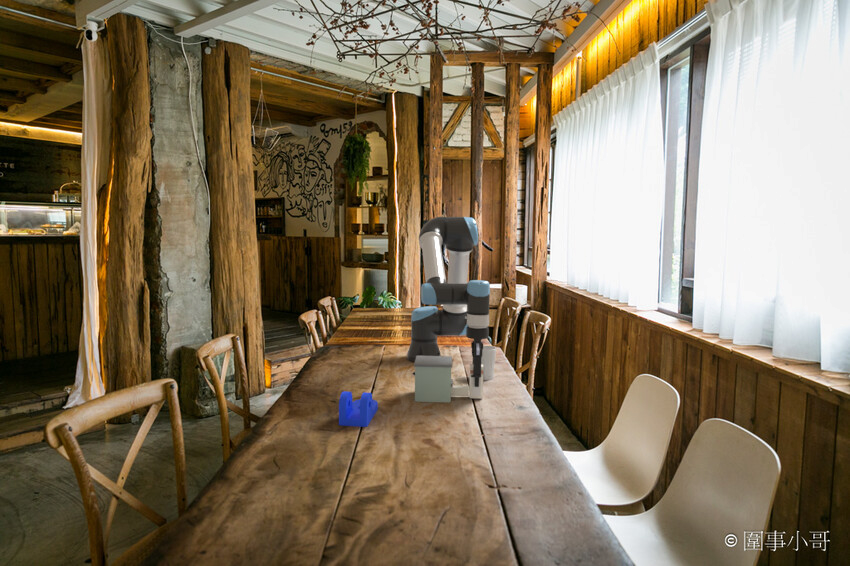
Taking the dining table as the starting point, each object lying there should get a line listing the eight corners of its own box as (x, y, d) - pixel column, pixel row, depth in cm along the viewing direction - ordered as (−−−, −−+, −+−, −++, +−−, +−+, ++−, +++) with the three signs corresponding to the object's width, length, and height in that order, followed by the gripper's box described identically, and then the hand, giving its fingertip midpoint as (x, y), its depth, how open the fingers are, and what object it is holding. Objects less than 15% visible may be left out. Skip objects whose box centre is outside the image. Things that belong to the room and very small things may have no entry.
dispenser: (452, 391, 170) (453, 356, 169) (452, 402, 159) (453, 365, 158) (416, 390, 171) (416, 355, 170) (413, 401, 160) (414, 364, 158)
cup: (495, 375, 191) (495, 345, 190) (496, 381, 184) (496, 350, 182) (475, 374, 192) (475, 345, 191) (475, 380, 184) (475, 349, 183)
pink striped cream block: (482, 395, 166) (482, 364, 165) (482, 398, 163) (483, 367, 162) (442, 394, 166) (442, 363, 165) (442, 397, 163) (442, 365, 162)
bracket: (366, 427, 138) (366, 397, 137) (339, 425, 139) (338, 395, 138) (380, 405, 156) (380, 378, 155) (355, 404, 157) (355, 377, 156)
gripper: (465, 321, 170) (464, 385, 172) (467, 330, 154) (465, 401, 156) (487, 322, 170) (485, 386, 172) (490, 331, 154) (488, 402, 156)
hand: (476, 393), depth 164 cm, fingers closed on pink striped cream block, 3 cm apart
